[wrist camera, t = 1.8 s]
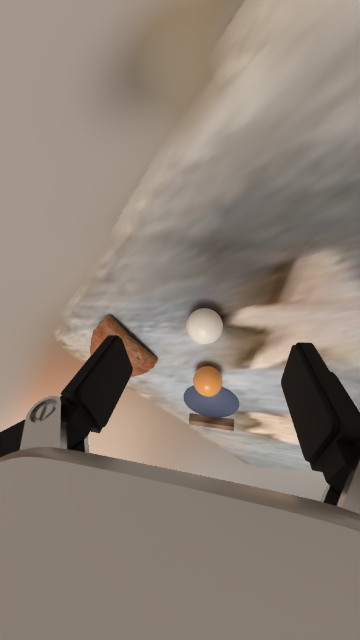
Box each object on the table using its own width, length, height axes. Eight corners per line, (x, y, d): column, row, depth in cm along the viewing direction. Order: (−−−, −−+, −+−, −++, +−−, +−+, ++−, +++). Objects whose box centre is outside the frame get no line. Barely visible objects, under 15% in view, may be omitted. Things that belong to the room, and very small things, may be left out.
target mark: (251, 406, 44) (251, 407, 44) (211, 421, 51) (211, 422, 51) (209, 376, 41) (209, 376, 41) (173, 397, 48) (173, 397, 48)
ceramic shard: (62, 354, 39) (104, 318, 34) (81, 339, 45) (120, 307, 40) (108, 399, 42) (154, 373, 37) (121, 380, 48) (162, 355, 43)
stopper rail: (233, 419, 49) (233, 427, 47) (233, 423, 50) (233, 430, 48) (190, 413, 51) (189, 420, 50) (190, 417, 52) (189, 424, 51)
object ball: (228, 371, 39) (229, 396, 34) (209, 382, 42) (207, 406, 37) (207, 355, 37) (205, 379, 33) (189, 368, 41) (185, 391, 36)
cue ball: (230, 316, 31) (231, 338, 26) (206, 335, 34) (203, 357, 30) (204, 295, 30) (200, 314, 25) (182, 316, 33) (175, 336, 28)
